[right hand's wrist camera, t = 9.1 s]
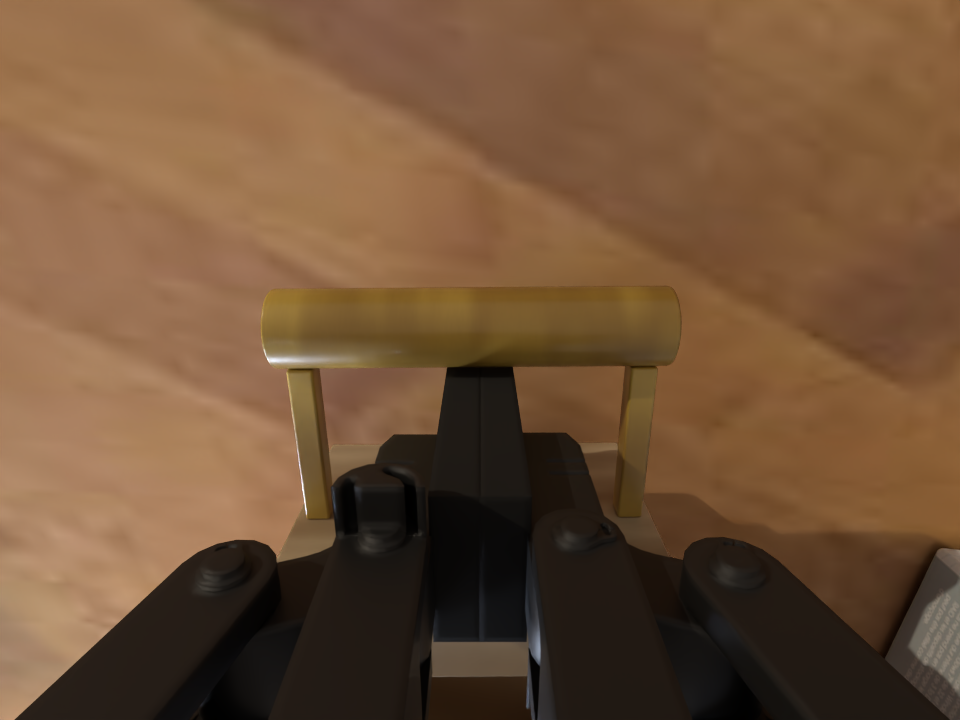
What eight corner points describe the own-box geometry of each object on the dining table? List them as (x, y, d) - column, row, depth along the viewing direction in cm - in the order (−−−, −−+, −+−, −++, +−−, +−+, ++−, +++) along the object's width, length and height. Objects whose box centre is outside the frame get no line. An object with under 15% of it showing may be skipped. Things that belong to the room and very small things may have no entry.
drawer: (311, 259, 15) (180, 347, 9) (633, 256, 15) (754, 343, 9) (369, 776, 23) (323, 1043, 16) (587, 775, 23) (633, 1041, 16)
